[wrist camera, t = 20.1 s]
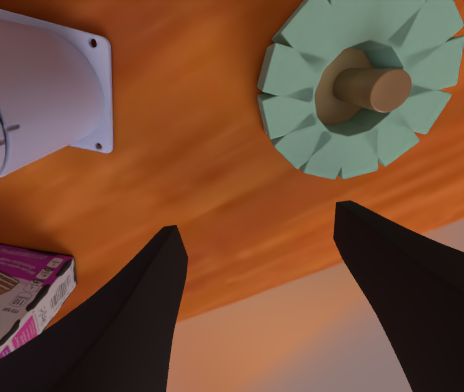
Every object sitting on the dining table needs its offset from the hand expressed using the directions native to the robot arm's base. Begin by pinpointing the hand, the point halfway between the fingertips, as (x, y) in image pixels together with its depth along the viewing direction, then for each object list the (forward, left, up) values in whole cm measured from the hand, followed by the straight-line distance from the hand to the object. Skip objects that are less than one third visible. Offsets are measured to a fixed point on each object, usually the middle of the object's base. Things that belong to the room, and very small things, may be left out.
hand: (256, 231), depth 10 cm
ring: (+5, +7, -9) cm, 12 cm away
